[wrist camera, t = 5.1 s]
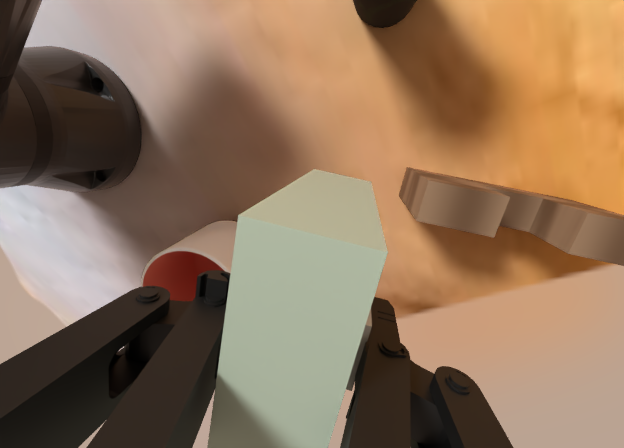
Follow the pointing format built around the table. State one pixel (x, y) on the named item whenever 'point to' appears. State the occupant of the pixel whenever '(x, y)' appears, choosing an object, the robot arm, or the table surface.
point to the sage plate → (296, 312)
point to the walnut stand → (514, 214)
